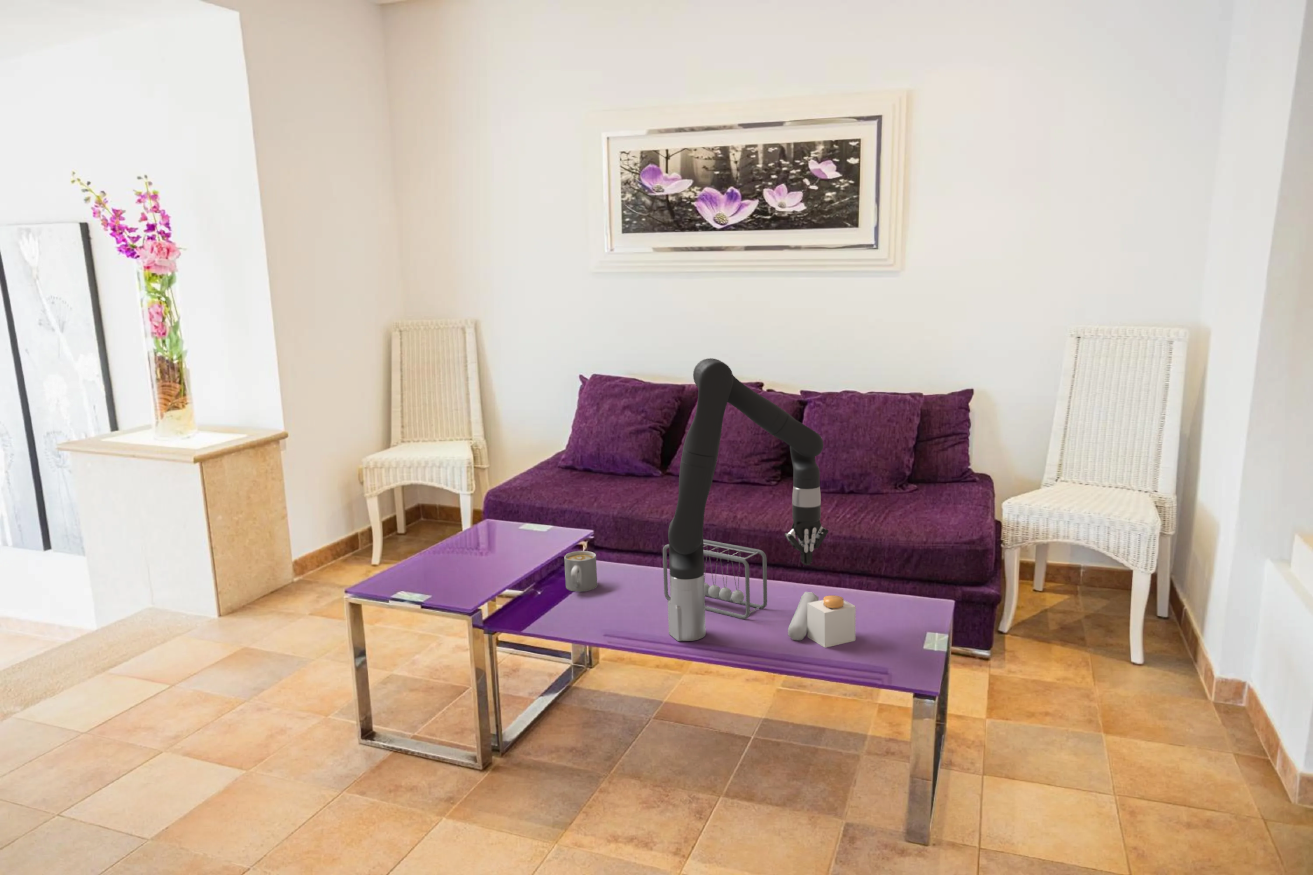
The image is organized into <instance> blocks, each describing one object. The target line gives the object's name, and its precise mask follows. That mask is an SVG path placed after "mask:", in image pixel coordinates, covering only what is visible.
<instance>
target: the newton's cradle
mask: <svg viewBox="0 0 1313 875" xmlns="http://www.w3.org/2000/svg"><path fill="white" fill-rule="evenodd" d="M705 546H706V550H705V549H703V553H704V556H705V561H707V559H708V557H709V559H711V558H716V560H718V559H719V560H720V561H722V560H727V561H731V566H732V572H733V576H734V580H736V576H735V571H734V564H733V562H736V563H738V565H739V566H738V571H740V567H741V566H740V564H743V565H744V571H745V572H744V575H745V595H744V591H742V590H739V589H738V587H739V585H740V584H739V582H740V576H738V578H737V579H738V582H737V581H734V585H735V586H737V587H735V590H733V591H732V590H731V589H730V588H729V587H727V586H726V585H727V584H728V583H727V582H728V577H725V578H726V579H725V578H724V577H722V580H723V583H725V584H723V587H722V588H720V586H719V585H717V584H716V582H717V580H716V579H717V575H715V579H714V578H713V577H714V576H713V574H711V577H712V578H711V579H712V580H714V581H712V585H709V584H708V583H707V582H705V581H706V577H704V592H705V597H706V598H707V597H708V598H712V599H716V600H721V601H725V602H729V603H733V604H737V605H742V606H745V614H740V613H735V612H732V611H728V610H723V609H719V608H716V607H712V606H711V607H710V606H708V605H707V606H706V605H705V611H709V612H713V613H716V614H721V615H724V616H728V617H729V616H730V617H731V618H736V619H740V620H747V619H748V618H749V617H750V615H751V613H754V612H755V611H757V610H758V609H759V610H763V609H765V608H766V607H767V606H768V572H767V570H768V568H767V567H768V566H767V564H768V563H767V562H768V560H767V559H768V558H767V555H766V553H765V552H764V551H763V550H761V549H758V548H752V547H747V546H741V545H735V544H730V543H725V542H724V543H723V542H721V541H720V542H719V541H714V540H709V539H704V538H703V548H704V547H705ZM708 546H711V547H714V548H712V549H711V550H708ZM716 548H722V549H726V550H727V551H730V550H732V551H737V552H736V553H733V554H732V555H731V554H730V553H728V554H726V553H724V552H725V550H723V551H722V552H718V551H717V552H716V551H714V550H715V549H716ZM668 549H669V543H668V544H665V545H664V546H663V548H662V565H663V566H662V568H663V570H662V571H663V592H664V593H663V594H664V597H665V599H666V600H667V602H668V601H669V600H671V597H670V594H669V587H668V559H667V558H668V557H667V556H668V554H667V550H668ZM712 550H713V551H712ZM737 553H739V554H741V553H748V554H750V555H748V556H746V557H741V556H737V555H735V554H737ZM758 554H759V555H761V557H762V598H763V599H762V604H758V603H754V602H751V598H750V596H751V594H750V588H751V587H750V565H749V564H750V563H749V562H748V561H747V559H749V558H751V557H753V556H755V555H758ZM709 564H710V566H712V562H711V560H709ZM720 566H721V568H720V569H723V565H722V563H720ZM726 566H727V569H726V573H728V572H729V569H728V568H729V565H726ZM715 567H716V568H715V572H717V568H718V564H716V565H715ZM706 568H707V565H704V573H706V572H707V571H706V570H707V569H706ZM710 572H711V573H713V570H712V567H710ZM721 573H722V576H724V572H723V570H721ZM736 582H737V583H736ZM751 608H754V609H753V610H751Z"/></svg>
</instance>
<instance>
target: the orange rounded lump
mask: <svg viewBox="0 0 1313 875" xmlns="http://www.w3.org/2000/svg"><path fill="white" fill-rule="evenodd" d="M822 600H823V604H824V606H826V607H828V608H829V609H831V610H833V609H838V608H840V607H842V606H843V605H844V597H842V596H840V595H836V594H835V595H831V594H830V595H826V596H824V597H823V599H822Z"/></svg>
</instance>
